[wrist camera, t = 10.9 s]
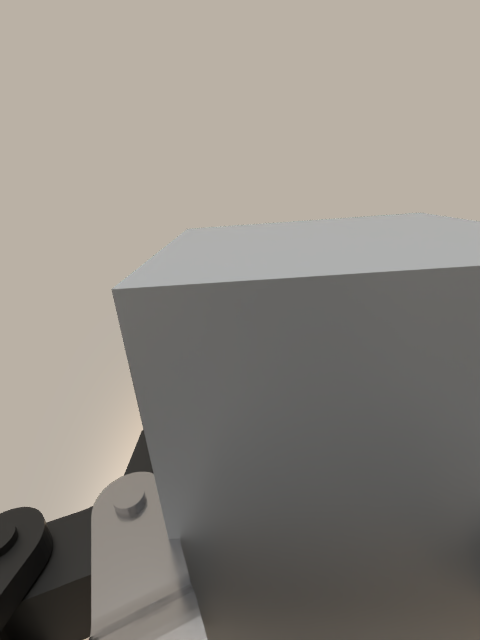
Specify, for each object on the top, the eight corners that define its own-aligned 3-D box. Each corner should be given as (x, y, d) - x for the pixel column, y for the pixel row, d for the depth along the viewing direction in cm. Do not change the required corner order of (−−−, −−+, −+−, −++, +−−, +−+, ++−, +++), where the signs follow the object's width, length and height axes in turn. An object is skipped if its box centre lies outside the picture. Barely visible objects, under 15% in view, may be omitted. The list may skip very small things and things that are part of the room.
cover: (374, 543, 12) (420, 212, 8) (454, 759, 8) (686, 252, 3) (227, 549, 12) (187, 229, 8) (219, 763, 8) (111, 289, 3)
